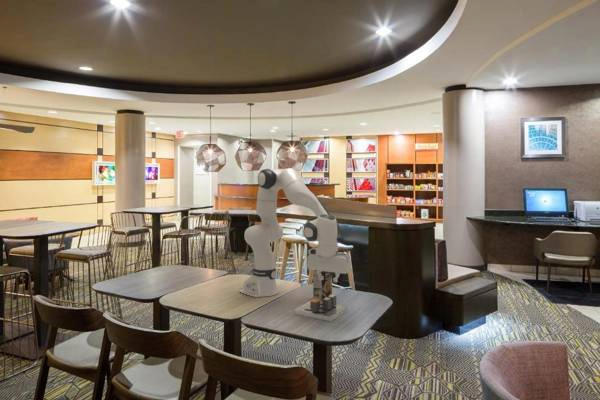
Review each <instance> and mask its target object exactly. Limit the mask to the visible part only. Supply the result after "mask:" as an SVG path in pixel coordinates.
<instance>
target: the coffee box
mask: <svg viewBox="0 0 600 400" xmlns="http://www.w3.org/2000/svg"><path fill="white" fill-rule="evenodd" d="M312 273H313V274H312V278H313V280H312V284H313V285H312V287H313V288H312V289H313V290H312V291H313V293H312V295H313V298H312V299H314V298H316V299H320V302H322V300H323V299H324V298H326V297H328V296H330V295H333V272H327V271H322V272H321V274H322V276H324V280H319V276H318V274H317V270H312Z"/></svg>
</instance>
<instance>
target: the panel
mask: <svg viewBox="0 0 600 400" xmlns="http://www.w3.org/2000/svg"><path fill="white" fill-rule="evenodd" d="M346 312H348V307H347V306H345V305H340V304H336V305H335V306H334V307H332V308H331V309H329V310H325V309H322V302H320V310H319V311H317V312H313V311H311V306H310V300H309V301H307V302H306V303H303V304H302V305H299V306H297V307H296V308H295V309H293V314H294V315H298V316H302V317H307V318H312V319H317V320H321V321H327V322H331V323H332V322H333V321H334V320H336V319H337V318H339V317H340V316H342V315H343V314H345V313H346Z"/></svg>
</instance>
